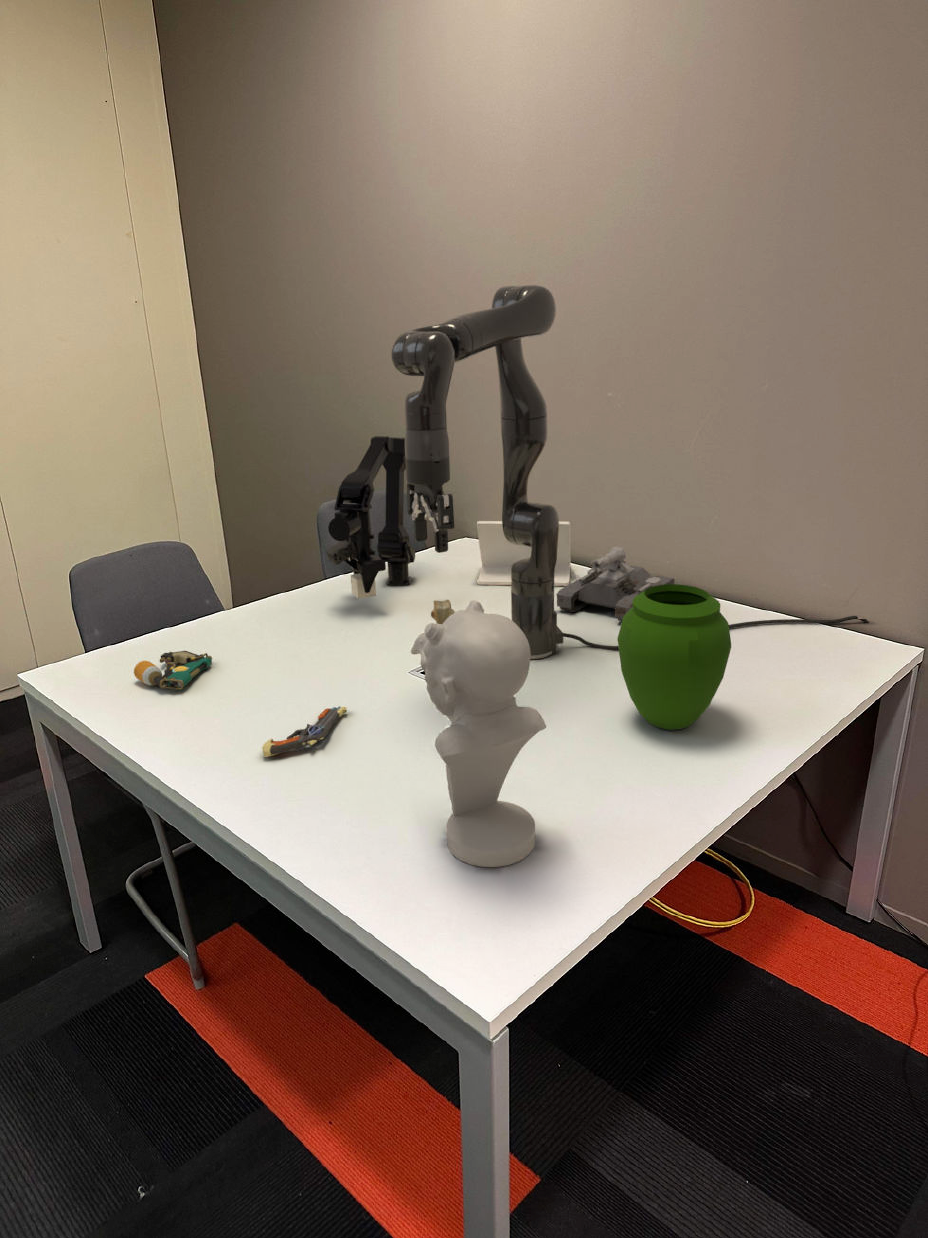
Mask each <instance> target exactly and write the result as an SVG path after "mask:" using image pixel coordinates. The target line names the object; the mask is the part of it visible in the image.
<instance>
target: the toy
mask: <svg viewBox="0 0 928 1238" xmlns="http://www.w3.org/2000/svg"><path fill="white" fill-rule="evenodd" d="M626 557H627V556H626V551H625V549H624V548H622V547H621V546H614V547H612V548H611V549H610V550H609V552H608V553H607V554H605V555H604V556H601V557H599V558H598V559H597V557H596V558H594V559H593V560H592V561H590V562H589V563H590V564H591V565H592V567H591V568H590V569H589V570H587V573H586V575H584V576H582V577H580V578H578V579H577V580H575V581H573V582H570V583H569V585H567V586H563V587H562V588H560V589H559V590H558V591H557V592H556V607H558V608H559V609H560V610H562V611H566V612H572V613H575V612H577V611H579V610H581V609H582V608H585V607H586V606H588V605H592V606H598V607H602V608H603V607H604V608H609V609H613V610H614V618H615V619H617V620H618V621H621V622H622V620H623V616H624V615H625V614H626V613H627V612H628V611H629V610H630V609H631V608H632V607H633V599H634V597H635V596H637V595H639V594H640V593H642V592H644V591H645V590H646V589H648V588H650V587H653V586H658V585H667V584H675V580H676V579H675V578H673V577H668V576H663V575H656V576H655V577H654V576H651V574H650V573H649V572H648V571H647V570H646V568H644V567H641V566H635V565H629V564H628V563H627V562H626V561H625V559H626Z"/></svg>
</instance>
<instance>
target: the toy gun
mask: <svg viewBox="0 0 928 1238" xmlns="http://www.w3.org/2000/svg"><path fill="white" fill-rule="evenodd" d="M347 708H348V707H347V706H340V705H339V706H337V707H336V706H333V707H332V708H325V709H324V710H323V711H322V712H321V713H320V714H319V715H318V716H317V721H316V722H315V723H314V724H309V723H307V724H306V727H305V728H302V729H295V730H294V732H293V733H291V734H290V735H288V736H287V737H286V739H283V740H274V739H273V738H269V740H266V742H264V743H263V745H262V747H261V748H262V749H261V750H262V754H263V756H264V757H267V758H268V757H272V756H275V755H276V756H277V755H280V754H283V753H287V752H290V751H293V750H298V749H300V748H303V747H306V746H309V745H310V746H313V745H314V744H316V743H318V742H319V741H321V740H324V738H325V737H327V735H328V733H329V732H330V731H331V729H332V727H333V725H334V724H335V723H336V722H337V721H338V720H339V718H341V717H342V715H344V714H347V712H348V709H347Z"/></svg>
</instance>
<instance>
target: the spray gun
mask: <svg viewBox="0 0 928 1238" xmlns="http://www.w3.org/2000/svg"><path fill="white" fill-rule="evenodd" d="M212 660H213V657H212V656H211V655H208V653H207V652H205V653H201V654H197V653H194V652H192V651H191V652H190V651H188V650H180V651H169V652H164V653H162V654H161V655H160V658H159V660H158V662H159V663H161V664H163V663H165V664H166V668H165V670H163V672H164V674H163V673H162V669H160V668H159V666H157V665H156V664H154V663H152V662H151V661H149V660H141V661H139V662H138V663H136V665H135V666H134V668H133V675H134V677H135V678H136V679H137V680H139V681H140V682H142V683H143V684H145V685H147V686H155V685H157V686H158V687H160V688H161V689H171V690H172V689H173V690H182V689H184V687H185V686H186V685H188V684H189V683H190V682H191V681H192V679H193V678H195V677H196V676H197V675H198V674H200V673H201V672H202V671H203V670H206V669H208V668H209V667H210V666H211V665H212V662H213V661H212ZM178 663H179V664H181V665H179V666H176V665H177V664H178Z"/></svg>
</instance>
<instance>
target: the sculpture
mask: <svg viewBox="0 0 928 1238" xmlns="http://www.w3.org/2000/svg"><path fill="white" fill-rule="evenodd" d="M455 612H456V611H455V609H453V608H452V602H451V601H450V599H445V600H433V610H431V612H430V617H431V618H432V619H433V620H434V621H435V622H436V623H435V624H443V623H444V622H445V620H446V619H447V618H448V617H450V616H451V615H452V614H453V613H455Z"/></svg>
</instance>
